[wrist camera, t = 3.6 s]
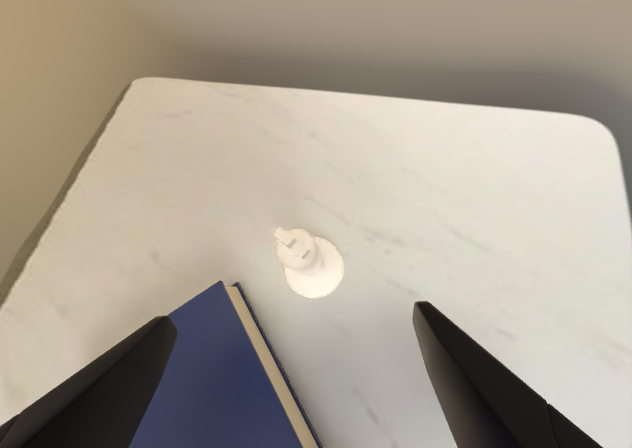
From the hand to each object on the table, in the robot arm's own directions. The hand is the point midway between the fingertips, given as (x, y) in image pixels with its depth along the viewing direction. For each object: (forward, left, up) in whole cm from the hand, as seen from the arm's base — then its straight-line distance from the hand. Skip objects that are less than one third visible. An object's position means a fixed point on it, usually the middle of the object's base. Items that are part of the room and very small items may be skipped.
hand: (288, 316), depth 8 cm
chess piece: (+3, -1, -10) cm, 11 cm away
